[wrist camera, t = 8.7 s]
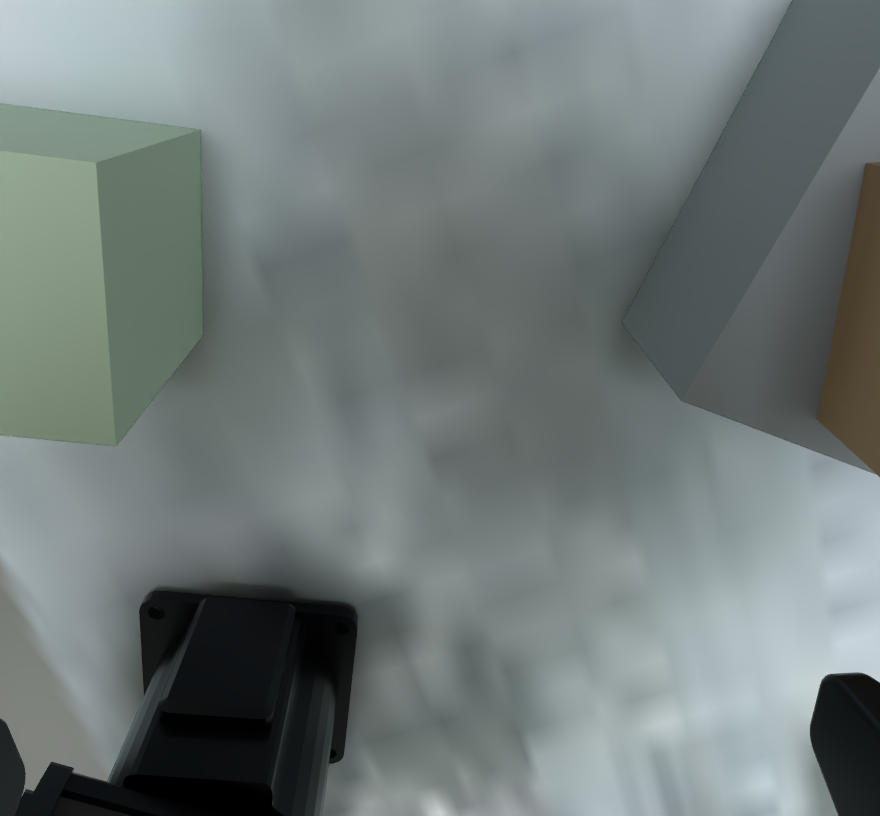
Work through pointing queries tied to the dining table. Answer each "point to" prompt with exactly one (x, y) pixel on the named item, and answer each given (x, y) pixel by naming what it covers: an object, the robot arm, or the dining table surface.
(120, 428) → the sage block
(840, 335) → the walnut block
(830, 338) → the slate base
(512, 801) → the dining table surface
